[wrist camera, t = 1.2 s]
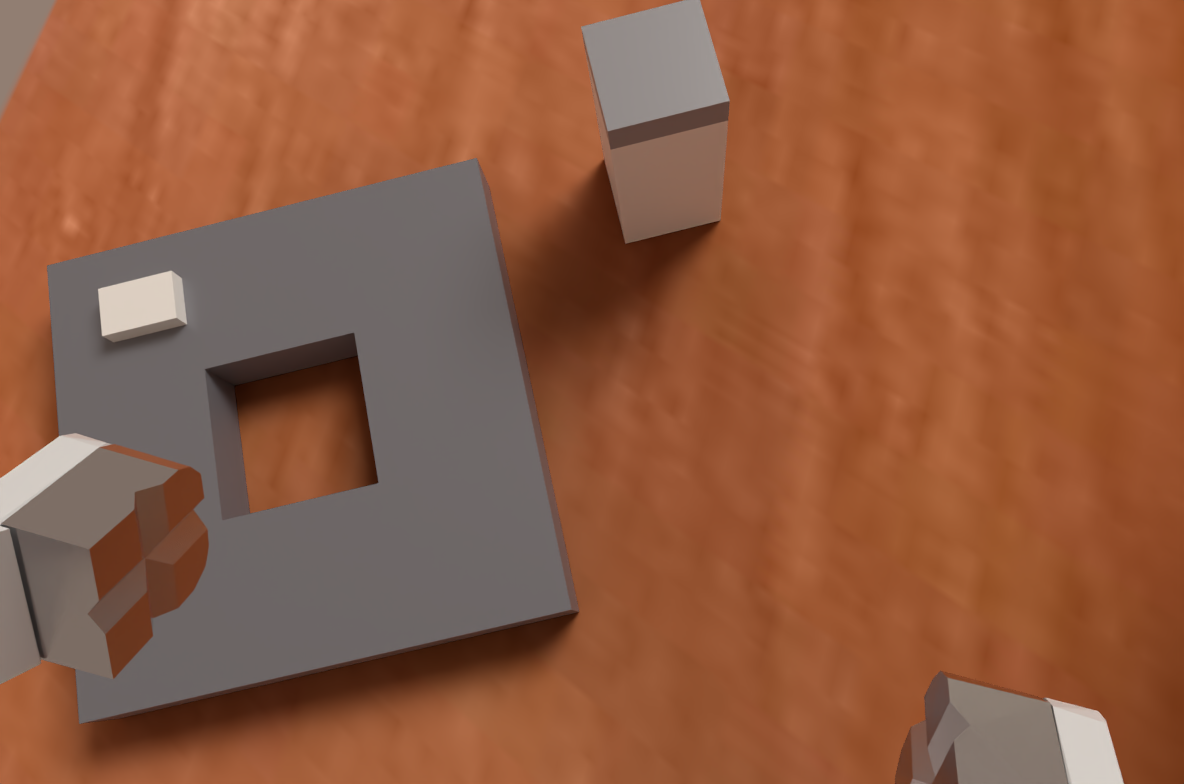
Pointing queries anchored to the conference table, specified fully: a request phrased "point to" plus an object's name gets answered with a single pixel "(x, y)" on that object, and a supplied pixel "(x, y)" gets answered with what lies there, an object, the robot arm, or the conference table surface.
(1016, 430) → the conference table surface
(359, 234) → the socket plate
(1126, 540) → the conference table surface
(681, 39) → the plug
